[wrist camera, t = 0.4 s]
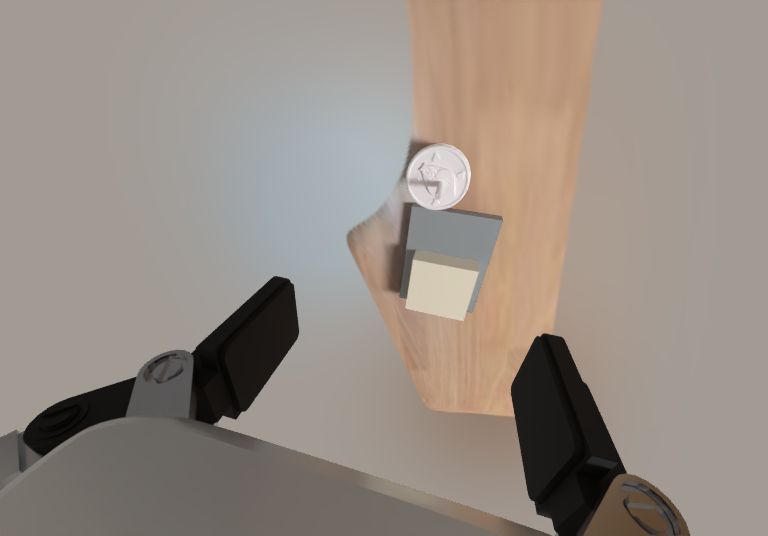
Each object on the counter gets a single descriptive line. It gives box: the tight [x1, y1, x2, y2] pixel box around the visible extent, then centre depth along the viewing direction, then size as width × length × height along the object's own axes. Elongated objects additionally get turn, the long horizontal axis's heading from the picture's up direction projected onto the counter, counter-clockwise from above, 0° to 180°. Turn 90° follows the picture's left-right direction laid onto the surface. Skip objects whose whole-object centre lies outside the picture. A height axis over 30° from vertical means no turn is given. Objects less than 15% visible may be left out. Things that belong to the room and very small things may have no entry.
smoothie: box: [406, 143, 471, 210], centre depth 30 cm, size 6×6×14 cm
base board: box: [399, 203, 503, 321], centre depth 41 cm, size 16×12×4 cm
